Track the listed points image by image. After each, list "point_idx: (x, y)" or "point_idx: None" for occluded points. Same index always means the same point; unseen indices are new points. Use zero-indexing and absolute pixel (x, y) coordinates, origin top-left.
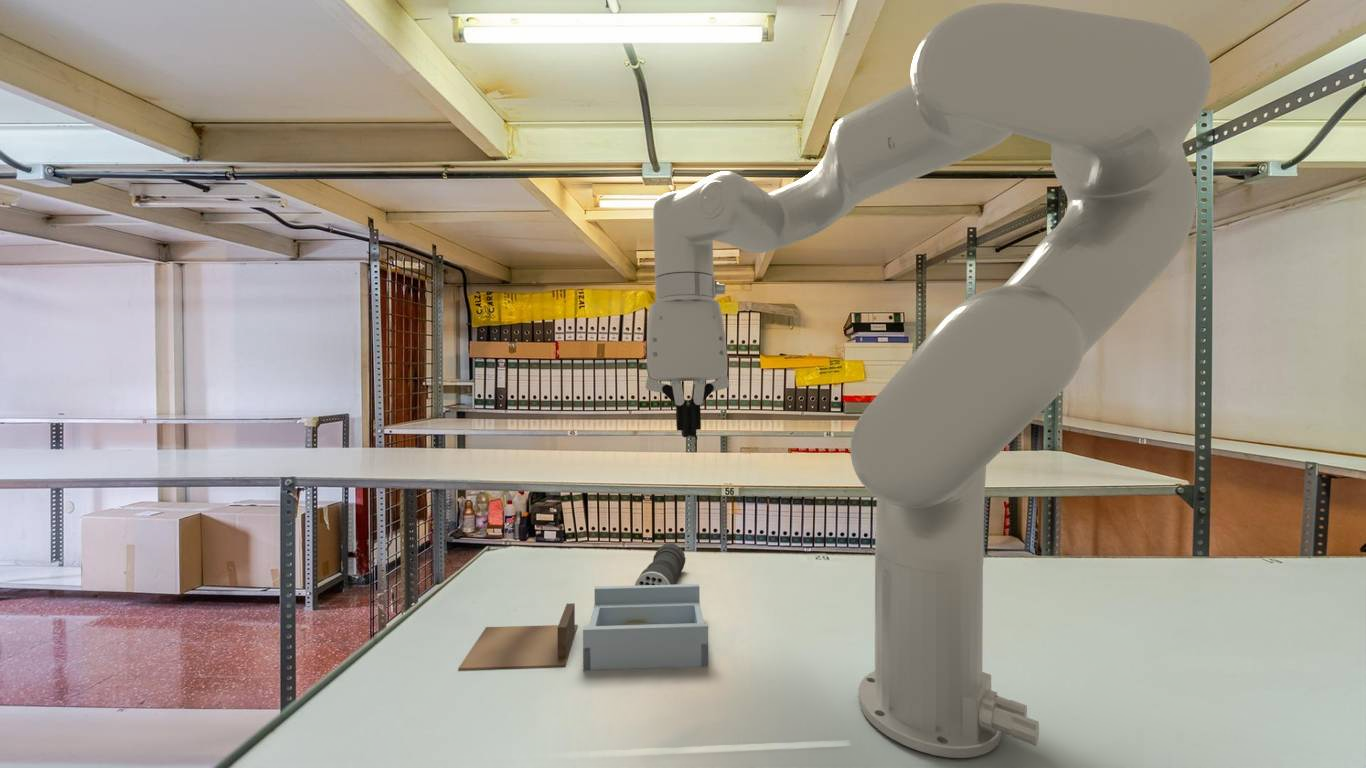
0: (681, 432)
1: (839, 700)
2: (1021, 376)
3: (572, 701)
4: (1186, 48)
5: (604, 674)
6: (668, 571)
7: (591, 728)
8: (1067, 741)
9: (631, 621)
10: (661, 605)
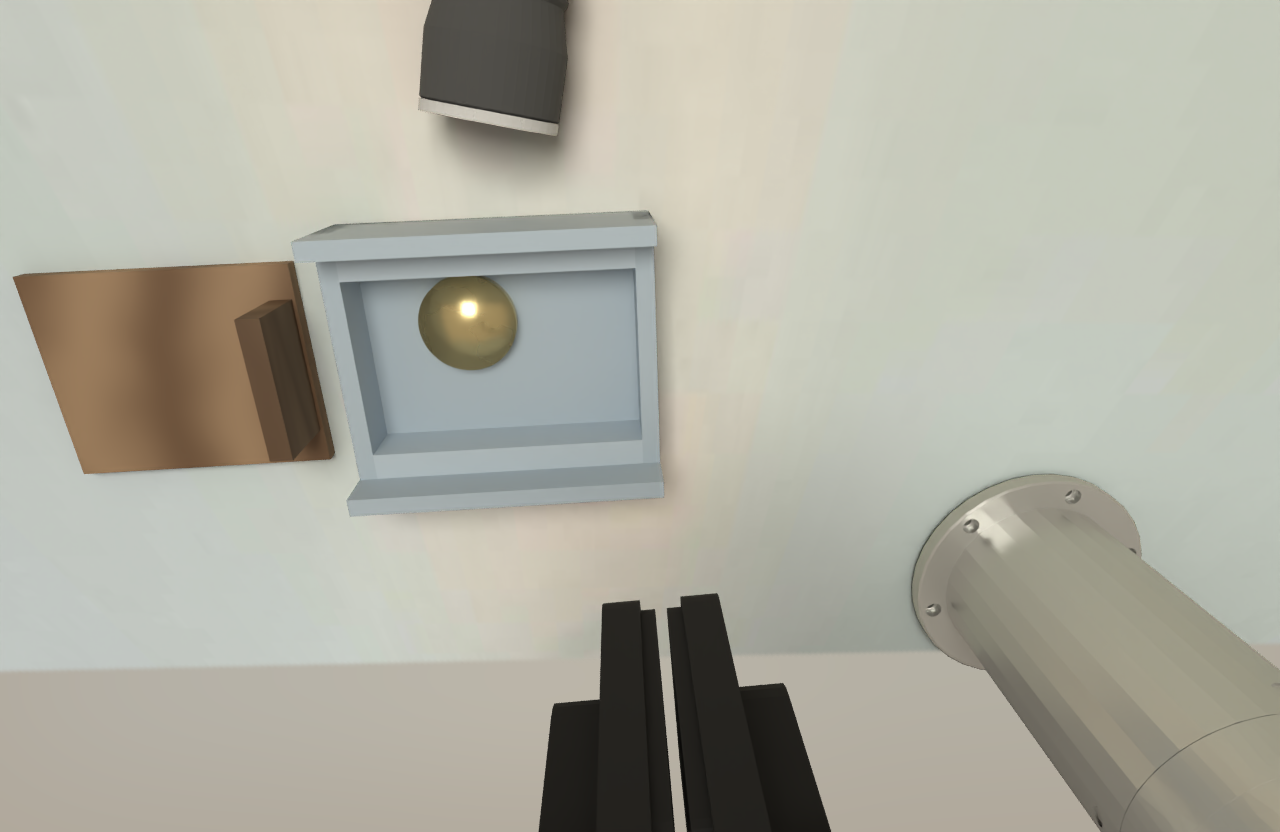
0: (602, 607)
1: (889, 538)
2: None
3: (387, 546)
4: None
5: None
6: (541, 50)
7: (444, 609)
8: None
9: (448, 278)
10: (532, 268)
